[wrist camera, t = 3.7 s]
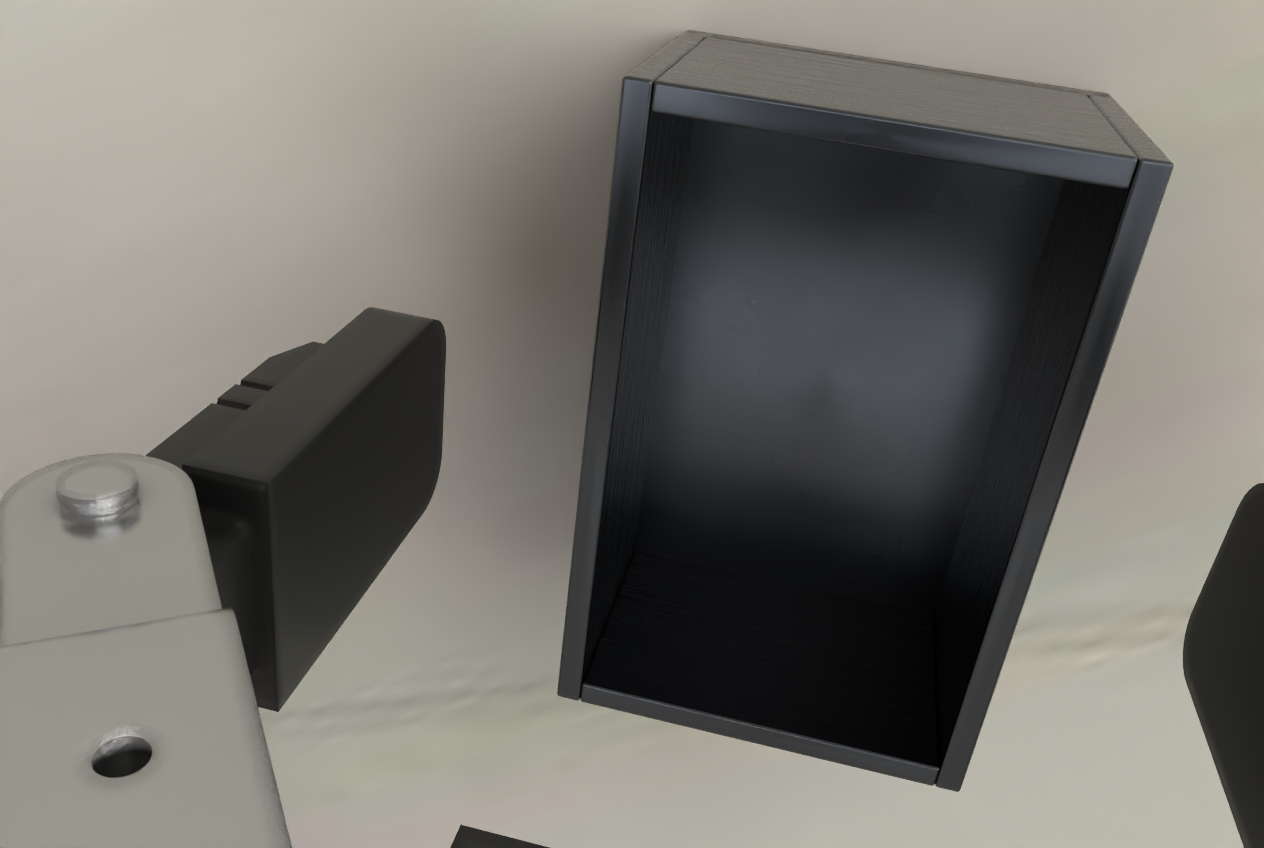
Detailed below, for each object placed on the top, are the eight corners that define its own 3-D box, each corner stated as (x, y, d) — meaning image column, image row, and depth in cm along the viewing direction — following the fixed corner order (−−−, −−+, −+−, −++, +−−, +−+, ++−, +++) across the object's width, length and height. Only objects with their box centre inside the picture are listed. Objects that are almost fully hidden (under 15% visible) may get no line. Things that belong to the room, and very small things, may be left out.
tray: (1111, 94, 13) (1176, 163, 10) (949, 620, 16) (959, 793, 13) (686, 29, 14) (622, 75, 10) (618, 548, 17) (556, 696, 14)
